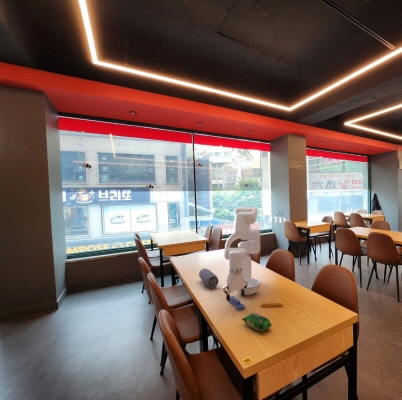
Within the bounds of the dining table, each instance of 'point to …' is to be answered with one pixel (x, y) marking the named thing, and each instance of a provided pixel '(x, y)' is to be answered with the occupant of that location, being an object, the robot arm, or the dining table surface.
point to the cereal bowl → (251, 286)
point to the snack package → (257, 322)
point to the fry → (271, 304)
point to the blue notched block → (236, 303)
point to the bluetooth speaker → (208, 278)
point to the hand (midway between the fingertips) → (235, 298)
